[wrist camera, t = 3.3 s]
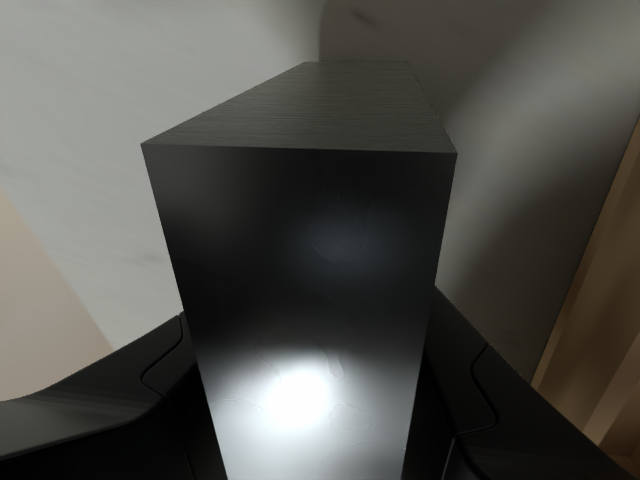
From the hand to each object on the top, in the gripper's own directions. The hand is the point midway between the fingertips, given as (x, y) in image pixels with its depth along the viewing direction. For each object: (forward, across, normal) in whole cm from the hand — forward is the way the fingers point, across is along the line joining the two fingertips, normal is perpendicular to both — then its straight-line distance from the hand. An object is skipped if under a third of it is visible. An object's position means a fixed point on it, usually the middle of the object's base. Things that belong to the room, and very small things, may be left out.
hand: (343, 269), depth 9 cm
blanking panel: (+2, 0, 0) cm, 2 cm away
